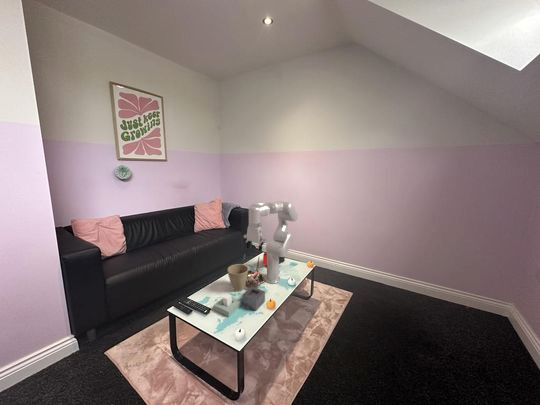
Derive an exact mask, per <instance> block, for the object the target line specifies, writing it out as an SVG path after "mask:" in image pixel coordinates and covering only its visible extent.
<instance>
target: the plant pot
mask: <svg viewBox="0 0 540 405" xmlns="http://www.w3.org/2000/svg"><path fill="white" fill-rule="evenodd" d="M248 273H249V267H248V266H247V265H245V264H243V263H238V264H237V263H236V264H232V265H230V266H228V268H227V274H228V278H229V281H230V284H231V287H232V289H233V290H234V292H242V291H243V290H244V288H245V286H246V283H247V280H248V279H247V278H248Z"/></svg>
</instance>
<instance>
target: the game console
mask: <svg viewBox="0 0 540 405" xmlns="http://www.w3.org/2000/svg"><path fill="white" fill-rule="evenodd" d="M278 257H279V265H281V264H283V263H285V261H286V260H285V258H286V256H285V257H280V256H278ZM262 259H263V261H262V264H263V266H264V267H266V268H267V253H266V252H264V253H263V256H262Z"/></svg>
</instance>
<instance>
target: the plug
mask: <svg viewBox="0 0 540 405" xmlns="http://www.w3.org/2000/svg"><path fill="white" fill-rule="evenodd" d="M232 297H233V296H232V295H231V294H229V293H227V294H225V295H224V296H223V297H222V298H223V305H224V306H226V307H229V306H230V305H231V304H232Z"/></svg>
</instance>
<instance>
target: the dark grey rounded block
mask: <svg viewBox="0 0 540 405" xmlns="http://www.w3.org/2000/svg"><path fill="white" fill-rule="evenodd" d="M265 302H266V291H265V290H262V289H259V288H258V287H254V286H250V287H249V288H248V289H246V290H245V292H243V293H242V294H241V306H243V307H245V308H248V309H250V310H251V311H252V310H253V311H255V312H257V311H258V310H259V308H261V307H262V305H263V304H264V303H265Z"/></svg>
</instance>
